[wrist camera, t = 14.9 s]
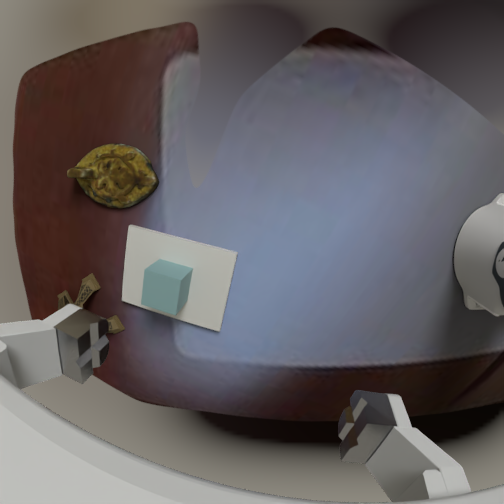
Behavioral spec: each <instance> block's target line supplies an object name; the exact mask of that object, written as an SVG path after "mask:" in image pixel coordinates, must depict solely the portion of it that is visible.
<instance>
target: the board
mask: <svg viewBox="0 0 504 504" xmlns="http://www.w3.org/2000/svg"><path fill="white" fill-rule="evenodd" d="M237 255H238V252H235V251H231V250H227V249H223V248H219V247H215V246H211V245H208V244H204V243H200V242H196V241H192V240H188V239H185V238H181V237H177V236H173V235H169V234H165V233H162V232H158V231H154V230H150V229H146V228H143V227H139V226H135V225H129V228H128V236H127V245H126V254H125V264H124V276H123V289H122V301H125V302H127V303H130V304H133V305H136V306H139V307H142V308H145V309H148V310H151V311H154V312H157V313H160V314H163V315H166V316H169V317H172V318H175V319H179V320H182V321H185V322H188V323H192V324H195V325H198V326H202V327H205V328H209V329H212V330H216V331H219V332H220V330H221V326H222V321H223V317H224V312H225V308H226V303H227V299H228V294H229V290H230V285H231V281H232V277H233V272H234V268H235V264H236V259H237ZM159 259H162V260H166V261H169V262H173V263H176V264H180V265H183V266H187V267H190V268H193V271H192V277H191V282H190V288H189V294H188V300H187V302H186V303H185V304H184V306H183V307H182V308H181V310H180V311H179V312H178V313H177V315H176V316H175V315H172V314H169V313H166V312H163V311H160V310H157V309H154V308H151V307H148V306H145V305H142V304H141V299H142V289H143V279H144V270H145V269H146V268H147V267H149V266H150V265H152V264H153V263H154V262H156V261H157V260H159Z"/></svg>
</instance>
